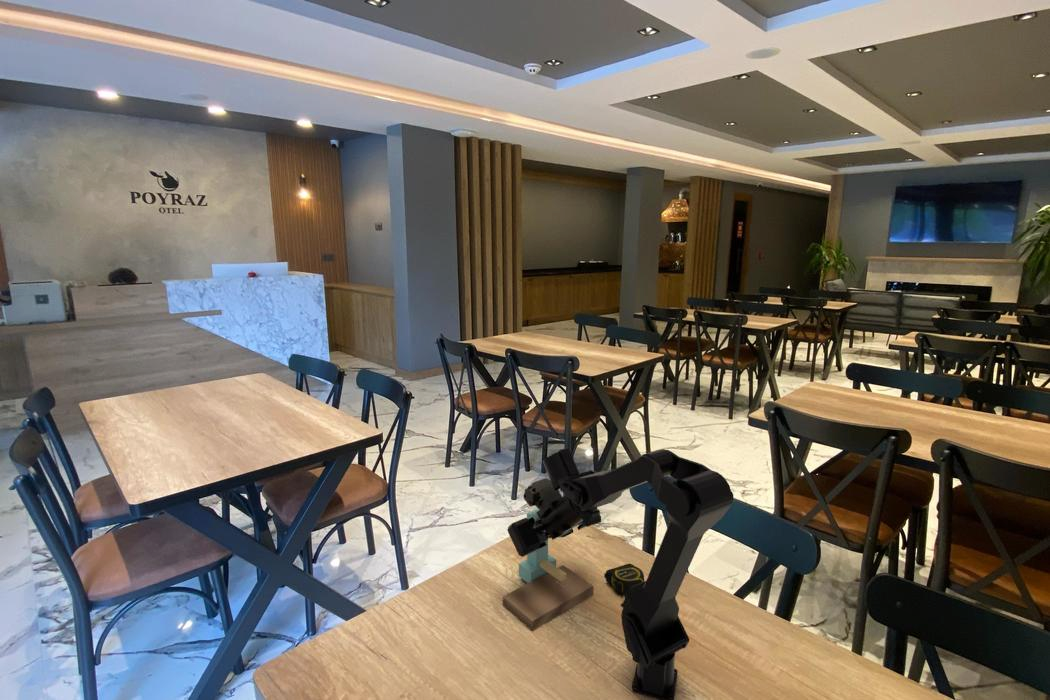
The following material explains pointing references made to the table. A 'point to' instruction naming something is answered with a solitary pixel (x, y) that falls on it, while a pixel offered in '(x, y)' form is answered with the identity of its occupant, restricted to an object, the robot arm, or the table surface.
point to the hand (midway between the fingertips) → (533, 538)
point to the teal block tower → (539, 561)
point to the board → (547, 598)
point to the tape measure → (624, 577)
